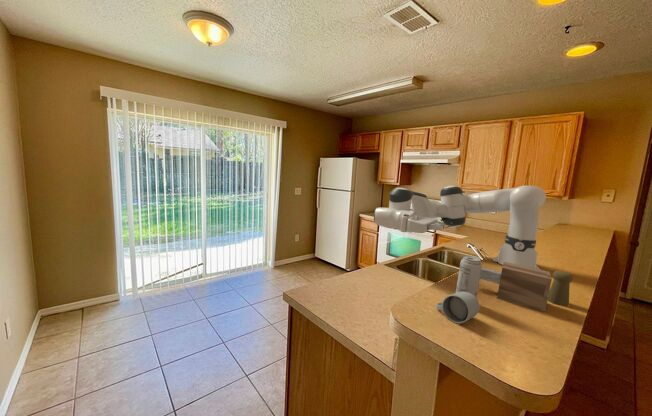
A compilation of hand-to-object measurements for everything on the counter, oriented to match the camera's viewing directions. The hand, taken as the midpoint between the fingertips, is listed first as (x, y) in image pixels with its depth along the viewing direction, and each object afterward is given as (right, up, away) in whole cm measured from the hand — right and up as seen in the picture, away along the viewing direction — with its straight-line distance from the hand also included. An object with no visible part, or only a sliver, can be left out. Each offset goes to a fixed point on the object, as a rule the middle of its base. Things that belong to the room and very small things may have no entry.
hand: (443, 227), depth 106 cm
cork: (+34, -25, -12) cm, 44 cm away
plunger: (+14, -19, -9) cm, 25 cm away
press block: (+20, -24, -13) cm, 34 cm away
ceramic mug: (-9, -24, -27) cm, 37 cm away
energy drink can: (-1, -23, -18) cm, 29 cm away
